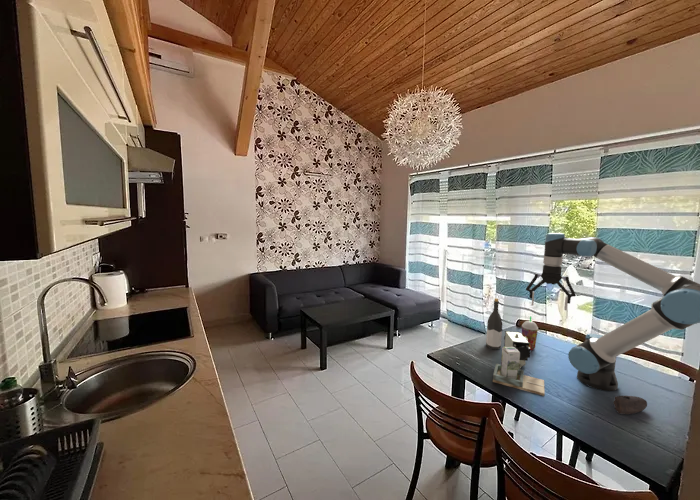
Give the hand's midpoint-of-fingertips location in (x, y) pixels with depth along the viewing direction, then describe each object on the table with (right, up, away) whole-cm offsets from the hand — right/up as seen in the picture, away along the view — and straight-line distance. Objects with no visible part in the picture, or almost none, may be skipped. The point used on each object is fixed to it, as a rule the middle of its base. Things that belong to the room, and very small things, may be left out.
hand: (548, 307), depth 147 cm
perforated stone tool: (+17, -39, -25) cm, 49 cm away
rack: (-17, -36, -3) cm, 39 cm away
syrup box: (-20, -34, -1) cm, 40 cm away
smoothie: (+8, -31, +31) cm, 45 cm away
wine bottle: (-11, -31, +34) cm, 47 cm away
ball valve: (-10, -34, +12) cm, 37 cm away
